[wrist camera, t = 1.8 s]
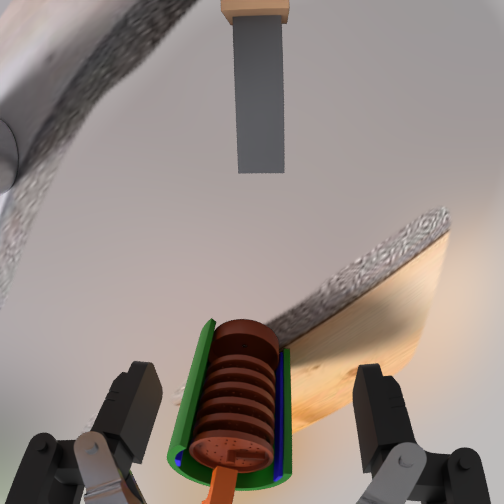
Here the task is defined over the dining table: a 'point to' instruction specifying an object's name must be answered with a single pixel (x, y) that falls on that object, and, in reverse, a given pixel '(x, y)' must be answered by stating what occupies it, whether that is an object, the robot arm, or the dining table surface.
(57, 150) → the dining table surface
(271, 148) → the plug
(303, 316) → the dining table surface
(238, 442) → the motor
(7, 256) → the dining table surface
